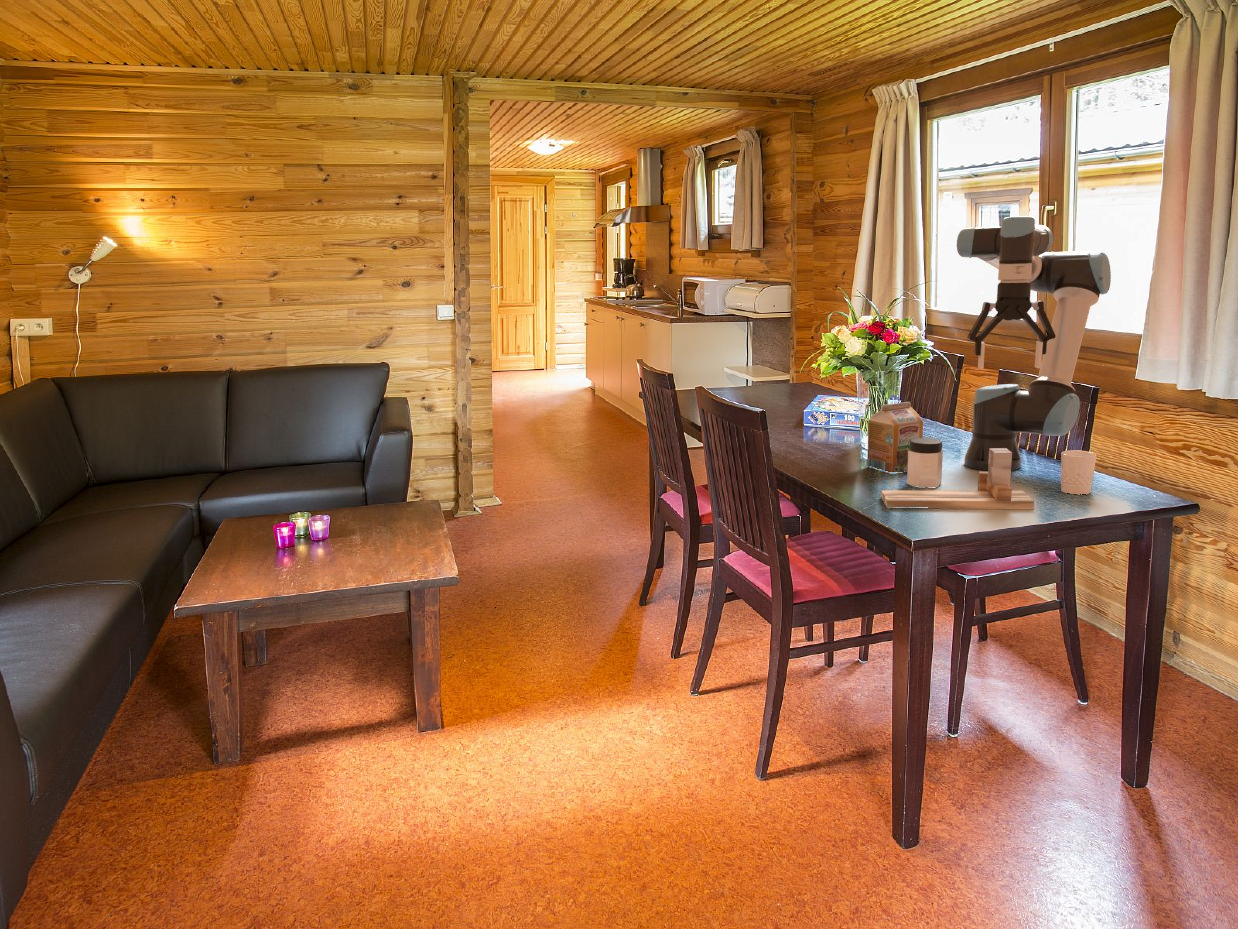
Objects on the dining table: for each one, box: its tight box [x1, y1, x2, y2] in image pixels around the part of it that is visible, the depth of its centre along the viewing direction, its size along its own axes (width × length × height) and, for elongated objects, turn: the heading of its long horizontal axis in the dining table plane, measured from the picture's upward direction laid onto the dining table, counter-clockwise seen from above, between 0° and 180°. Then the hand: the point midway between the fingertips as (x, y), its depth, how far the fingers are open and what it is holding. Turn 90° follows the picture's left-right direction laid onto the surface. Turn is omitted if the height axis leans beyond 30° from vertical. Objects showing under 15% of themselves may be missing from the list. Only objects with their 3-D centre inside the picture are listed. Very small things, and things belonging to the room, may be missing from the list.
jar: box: [906, 437, 944, 488], centre depth 246 cm, size 9×8×12 cm
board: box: [880, 489, 1035, 510], centre depth 229 cm, size 10×34×2 cm, turn 82°
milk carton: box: [866, 401, 924, 472], centre depth 265 cm, size 11×11×19 cm
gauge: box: [977, 448, 1013, 501], centre depth 227 cm, size 14×6×13 cm, turn 172°
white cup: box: [1060, 449, 1097, 496], centre depth 235 cm, size 8×8×10 cm
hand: (1009, 368), depth 232 cm, fingers open, 13 cm apart
